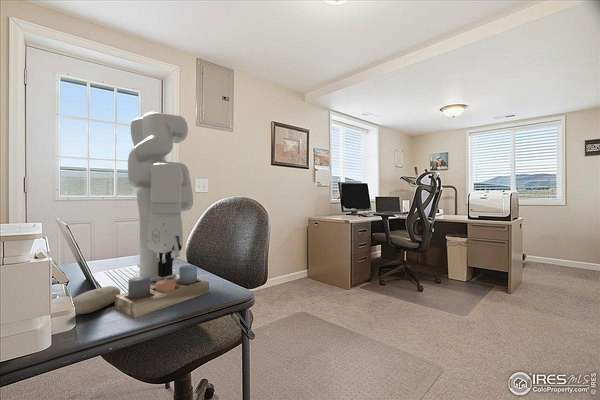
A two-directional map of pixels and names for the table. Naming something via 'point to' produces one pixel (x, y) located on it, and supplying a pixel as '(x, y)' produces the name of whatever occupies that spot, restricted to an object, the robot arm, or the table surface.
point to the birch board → (160, 298)
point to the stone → (95, 299)
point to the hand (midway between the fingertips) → (165, 275)
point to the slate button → (188, 274)
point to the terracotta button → (165, 286)
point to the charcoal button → (139, 287)
